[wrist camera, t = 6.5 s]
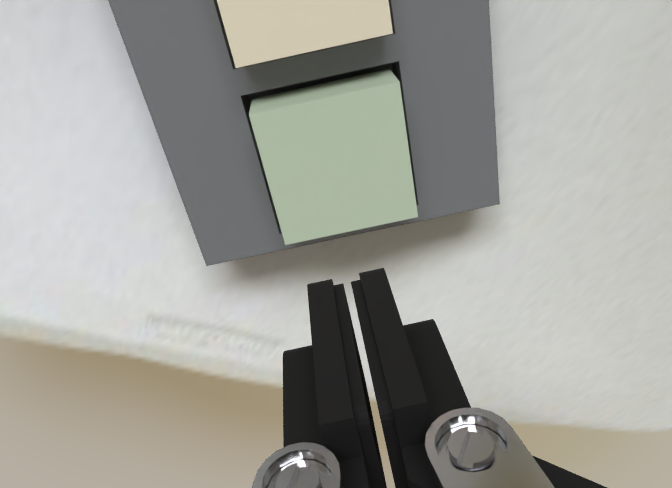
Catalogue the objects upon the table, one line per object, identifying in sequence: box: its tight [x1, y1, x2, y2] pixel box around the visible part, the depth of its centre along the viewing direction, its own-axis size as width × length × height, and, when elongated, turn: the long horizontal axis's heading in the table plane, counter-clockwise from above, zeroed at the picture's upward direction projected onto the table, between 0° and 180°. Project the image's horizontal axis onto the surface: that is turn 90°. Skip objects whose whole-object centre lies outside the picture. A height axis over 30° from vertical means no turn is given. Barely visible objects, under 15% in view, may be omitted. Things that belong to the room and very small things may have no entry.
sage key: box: [249, 69, 418, 245], centre depth 20 cm, size 5×5×2 cm
